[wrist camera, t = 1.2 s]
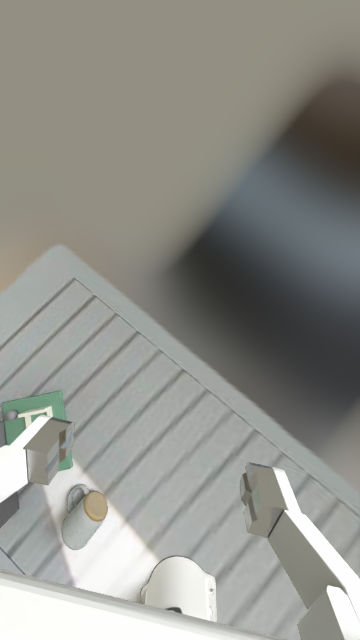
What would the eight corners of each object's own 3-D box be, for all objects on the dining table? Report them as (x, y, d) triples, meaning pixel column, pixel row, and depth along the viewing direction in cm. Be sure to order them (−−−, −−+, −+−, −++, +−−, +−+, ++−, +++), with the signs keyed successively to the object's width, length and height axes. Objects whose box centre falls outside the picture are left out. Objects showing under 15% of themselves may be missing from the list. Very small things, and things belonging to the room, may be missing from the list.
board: (72, 465, 54) (63, 476, 50) (15, 477, 54) (0, 488, 50) (61, 390, 56) (51, 394, 51) (6, 401, 56) (-9, 407, 52)
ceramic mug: (114, 502, 53) (101, 529, 45) (94, 527, 52) (77, 560, 45) (84, 473, 54) (67, 496, 46) (64, 498, 53) (43, 525, 46)
